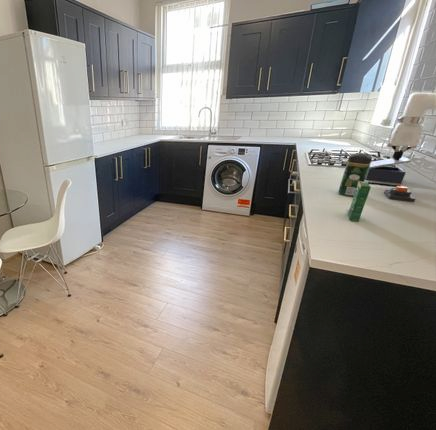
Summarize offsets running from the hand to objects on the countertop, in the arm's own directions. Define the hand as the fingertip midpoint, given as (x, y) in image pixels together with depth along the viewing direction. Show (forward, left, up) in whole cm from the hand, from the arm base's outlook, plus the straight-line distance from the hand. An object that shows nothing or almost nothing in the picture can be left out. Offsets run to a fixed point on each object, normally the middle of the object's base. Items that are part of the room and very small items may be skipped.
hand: (396, 159), depth 139 cm
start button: (+1, +27, -9) cm, 29 cm away
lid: (+3, 0, -2) cm, 3 cm away
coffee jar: (+19, +32, -13) cm, 39 cm away
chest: (+3, 0, -13) cm, 13 cm away
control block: (+1, +27, -13) cm, 30 cm away
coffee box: (+21, +66, -13) cm, 70 cm away
